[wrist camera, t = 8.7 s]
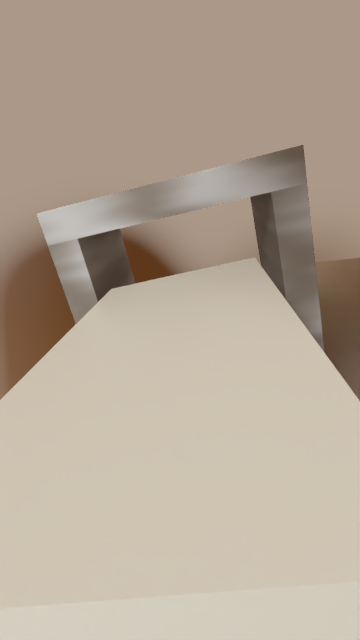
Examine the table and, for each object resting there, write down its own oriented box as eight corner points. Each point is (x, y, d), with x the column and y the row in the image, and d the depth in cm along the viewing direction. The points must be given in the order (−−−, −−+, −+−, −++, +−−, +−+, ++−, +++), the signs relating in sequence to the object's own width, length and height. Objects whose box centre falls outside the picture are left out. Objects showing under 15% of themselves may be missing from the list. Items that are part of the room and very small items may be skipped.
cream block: (288, 458, 17) (255, 257, 14) (451, 997, 6) (484, 572, 2) (169, 473, 18) (111, 288, 14) (101, 965, 6) (-225, 625, 3)
